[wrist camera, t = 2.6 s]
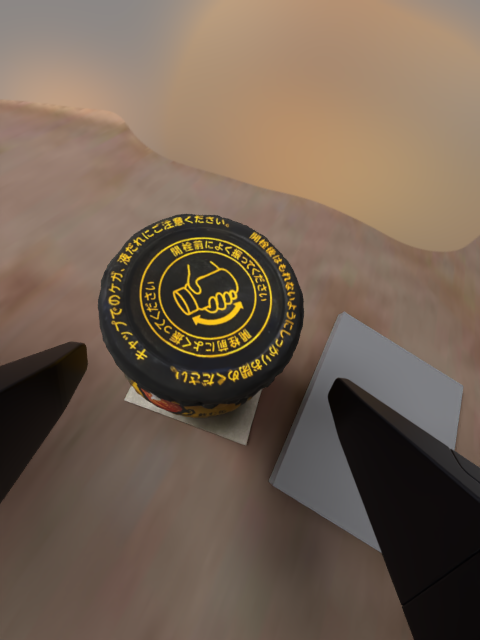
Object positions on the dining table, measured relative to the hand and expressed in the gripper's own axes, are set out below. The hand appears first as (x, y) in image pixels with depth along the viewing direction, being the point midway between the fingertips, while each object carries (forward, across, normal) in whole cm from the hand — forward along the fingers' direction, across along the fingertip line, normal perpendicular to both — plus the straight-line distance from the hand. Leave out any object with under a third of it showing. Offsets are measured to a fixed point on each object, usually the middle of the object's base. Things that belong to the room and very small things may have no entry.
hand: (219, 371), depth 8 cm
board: (+5, -13, +7) cm, 16 cm away
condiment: (+7, 0, +6) cm, 9 cm away
